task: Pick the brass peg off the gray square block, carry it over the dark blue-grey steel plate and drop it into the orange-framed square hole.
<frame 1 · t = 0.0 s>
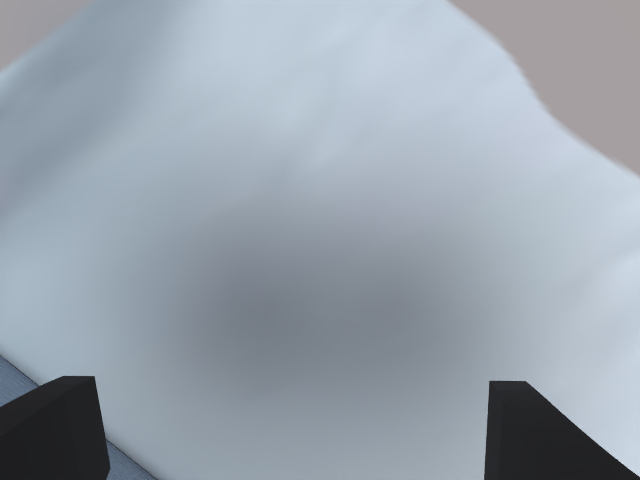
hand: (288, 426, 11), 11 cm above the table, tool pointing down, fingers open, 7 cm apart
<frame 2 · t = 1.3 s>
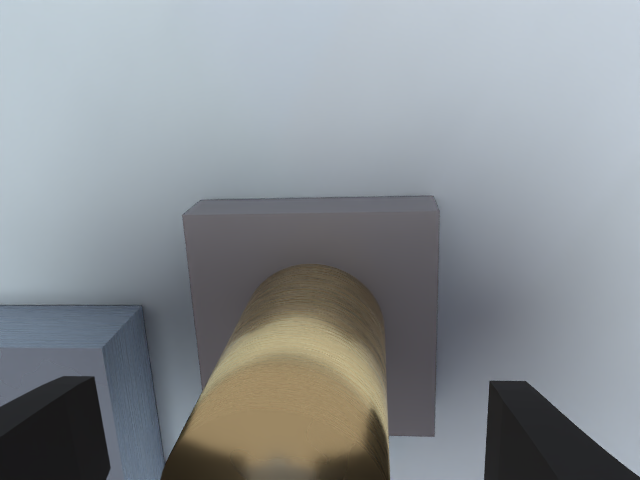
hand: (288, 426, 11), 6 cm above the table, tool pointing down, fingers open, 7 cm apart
brass peg: (313, 330, 14), point 1 cm above the table, touching gray square block
gray square block: (319, 305, 16), on the table
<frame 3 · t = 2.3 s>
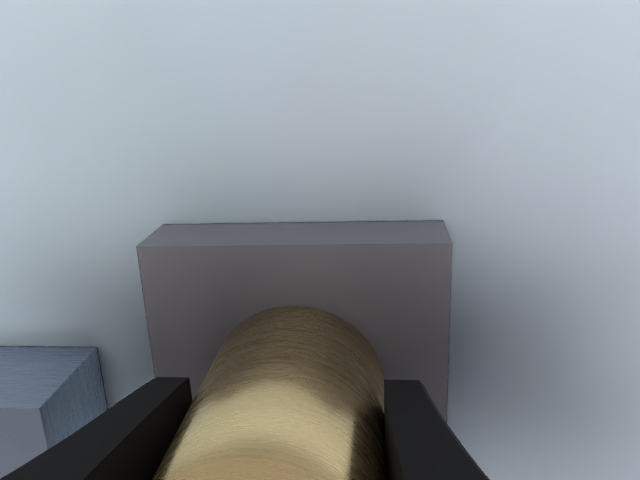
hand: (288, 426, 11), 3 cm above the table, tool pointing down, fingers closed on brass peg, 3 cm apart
brass peg: (298, 384, 12), point 1 cm above the table, touching gripper, gray square block
gray square block: (306, 348, 13), on the table
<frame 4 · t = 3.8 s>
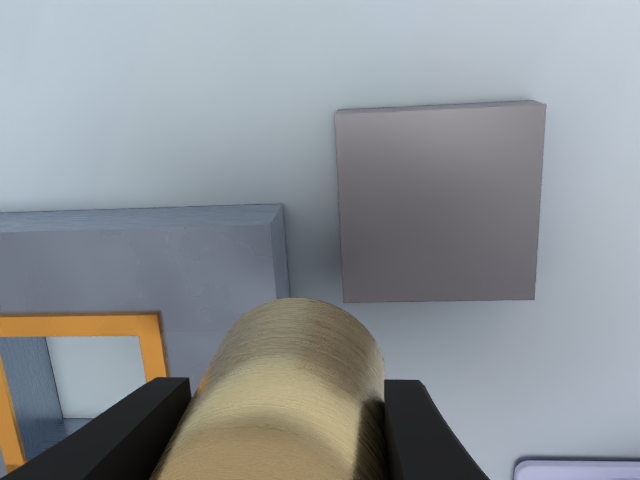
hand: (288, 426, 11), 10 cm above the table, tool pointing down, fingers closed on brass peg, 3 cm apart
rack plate: (50, 363, 22), on the table
brass peg: (300, 376, 12), point 8 cm above the table, touching gripper
gray square block: (433, 198, 19), on the table
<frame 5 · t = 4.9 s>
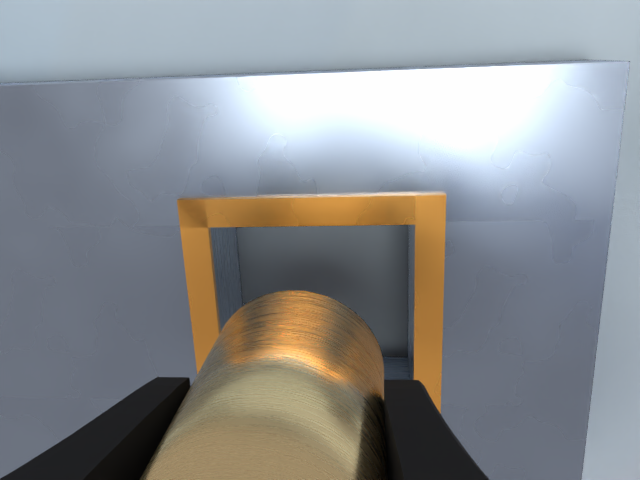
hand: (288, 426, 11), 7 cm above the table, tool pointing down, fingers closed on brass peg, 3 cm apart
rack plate: (240, 281, 17), on the table
brass peg: (297, 369, 12), point 6 cm above the table, touching gripper
when the fingers open (5 cm above the table, at t = 5.6 s): brass peg drops 4 cm, resting in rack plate.
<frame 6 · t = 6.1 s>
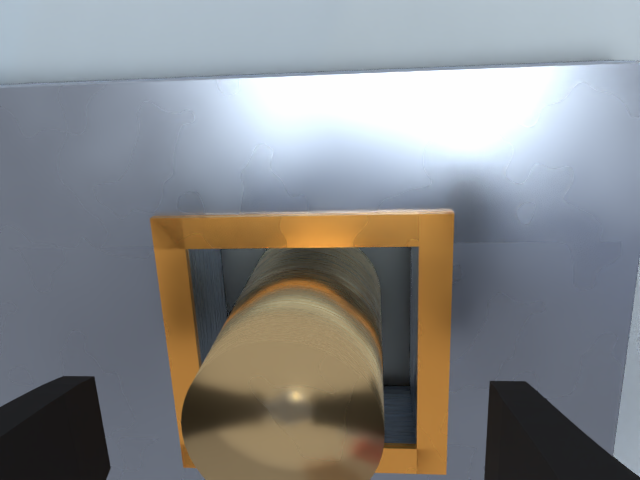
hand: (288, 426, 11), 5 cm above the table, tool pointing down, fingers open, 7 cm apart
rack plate: (225, 303, 16), on the table
brass peg: (315, 293, 16), resting in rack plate
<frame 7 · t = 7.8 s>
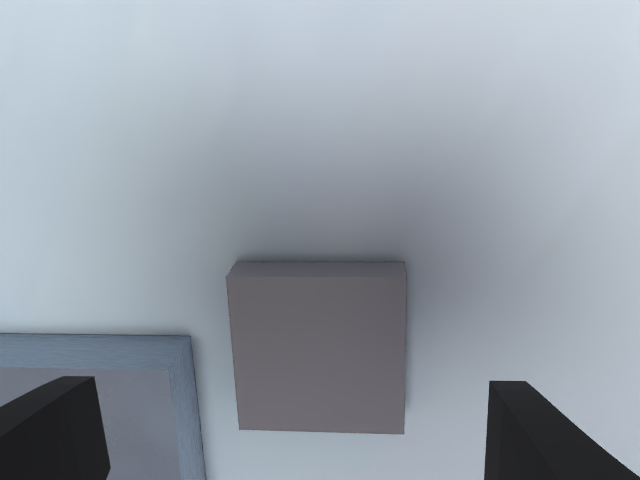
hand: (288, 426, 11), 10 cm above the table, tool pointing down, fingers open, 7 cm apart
gray square block: (321, 338, 22), on the table
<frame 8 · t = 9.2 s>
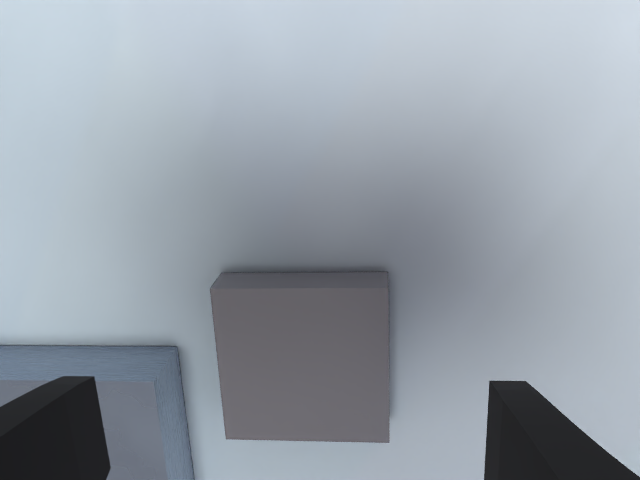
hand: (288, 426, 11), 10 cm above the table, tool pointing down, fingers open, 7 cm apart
gray square block: (307, 347, 22), on the table
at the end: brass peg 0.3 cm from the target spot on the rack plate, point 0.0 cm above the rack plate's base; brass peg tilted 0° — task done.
